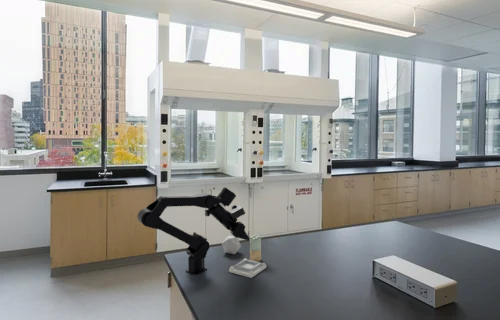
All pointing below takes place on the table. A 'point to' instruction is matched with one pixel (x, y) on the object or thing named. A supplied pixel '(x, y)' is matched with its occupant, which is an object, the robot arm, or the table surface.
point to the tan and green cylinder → (255, 248)
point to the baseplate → (247, 268)
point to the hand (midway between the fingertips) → (245, 236)
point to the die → (231, 245)
